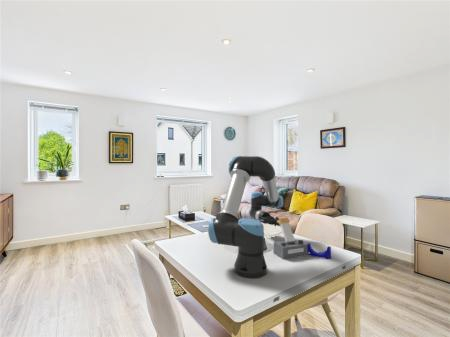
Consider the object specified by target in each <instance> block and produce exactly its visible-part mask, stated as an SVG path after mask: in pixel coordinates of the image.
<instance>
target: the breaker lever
mask: <svg viewBox="0 0 450 337" xmlns="http://www.w3.org/2000/svg"><path fill="white" fill-rule="evenodd" d="M278 223H279V224H280V226H281V227H280V226H279V227H280V228H281V232H282V234H283V238H284V241H286V243H287V244H288V243H295V240H296V239H295V236H294V234H293V231H292V228H291V226H290V219H289V217H284V218H281V217H280V218H279V220H278Z"/></svg>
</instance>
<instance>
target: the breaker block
mask: <svg viewBox="0 0 450 337" xmlns="http://www.w3.org/2000/svg"><path fill="white" fill-rule="evenodd" d="M272 253H273V254H274V255H276V256H277V257H278V258H280V259H282V260H285V259H291V258H297V257H298V258H299V257H306V256H309V255H308V244H307V243H306V242H305V241H304V240H303V239H295V243H288V244H287V243H286V241H285V240H283V241H282V240H281V241H274V242H273V252H272Z"/></svg>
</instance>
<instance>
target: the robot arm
mask: <svg viewBox="0 0 450 337" xmlns="http://www.w3.org/2000/svg"><path fill="white" fill-rule="evenodd" d="M228 166H229V167H228V173H229V175H230V177H231V179H230V181H229V182H230V183H229V185H228V189H227V190H226V195H225V198H224V201H223V204H222V207H221V210H220V212H217V214H216V215H215V218H214V217H213V218H211V219H210V220H209V223H208V226H207V227H208V229H207V232H208V237H209V240H210V241H211V242H212V243H214V244H218V245H224V246H229V247H237V248H238V249H237V250H238V252H237V257H236V259H235V262H234V265H233V266H234V268H233V270H234V273H236V274H237V275H238V276H240V277H244V278H249V279H257V278H261V277H264V276H266V275H267V273H268V265H267V262H266V259H265V255H264V250H265V249H264V244H265V243H264V242H265V239H264V238H265V228H264V224H267V225H270V226H274V227H280V228H281V226H280V224H279V223H278V220H279V219H280V217H278V216H275V217H274V216H272V215H271V214H270V213H269V212H267V211H264V210H263V209H262V208H263V207H270V208H271V207H272V208H282V207H283V206H284V197H283V196H280V195H279V192H278V186H277V183H276V179H275V177H276V171H275V168H274V166H273V165H272V164H271V163H270V162H269V161H268V160H267V159H266V158H264V157H262V156H258V155H257V156H256V155H255V156H254V155H253V156H247V155H245V156H243V155H242V156H241V155H238V156H233V157H232V158H231V159H230V161H229V164H228ZM251 177H258V178H259V179H260V180H261V181H262V184H263V188H264V191H265V195H264V194H263V192H261V191H252V192H251V195H250V196H251V197H250V209H248V216H249V217H250V218H248V217H247V218H246V217H242V218H240V219H239V217H238V214H239V211H240V206H241V204H242V200H243V199H242V198H243V195H244V191H245V188H246V185H247V182H249V181H250V179H251Z"/></svg>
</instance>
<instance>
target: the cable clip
mask: <svg viewBox="0 0 450 337" xmlns="http://www.w3.org/2000/svg"><path fill="white" fill-rule="evenodd" d="M306 244H308V255H307V256H311V257H316V258H321V259H327V260H331V257H332V246H327V247H326V250H324V251H319V252H317V251H316V250H315V249H313V247H312V245H311V244H312V243H311V242H307V243H306Z"/></svg>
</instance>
